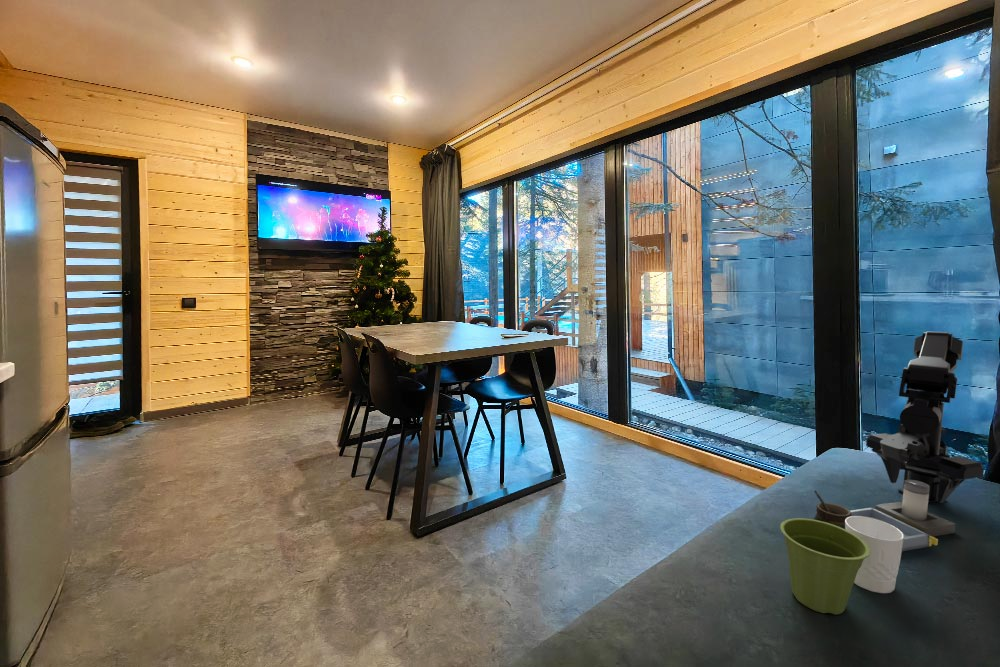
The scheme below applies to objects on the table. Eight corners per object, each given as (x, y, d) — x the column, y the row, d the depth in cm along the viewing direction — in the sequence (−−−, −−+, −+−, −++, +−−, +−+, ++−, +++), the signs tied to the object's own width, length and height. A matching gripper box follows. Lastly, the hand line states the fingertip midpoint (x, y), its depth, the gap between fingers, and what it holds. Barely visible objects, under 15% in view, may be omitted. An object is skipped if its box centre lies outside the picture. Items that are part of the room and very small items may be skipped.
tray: (837, 523, 97) (837, 512, 96) (870, 518, 99) (871, 507, 98) (891, 553, 86) (892, 541, 86) (928, 546, 88) (929, 535, 87)
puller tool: (881, 522, 97) (882, 517, 96) (889, 521, 97) (890, 516, 97) (929, 546, 88) (929, 540, 88) (937, 544, 88) (938, 539, 88)
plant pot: (870, 639, 65) (877, 568, 64) (776, 609, 72) (780, 543, 70) (858, 591, 75) (863, 529, 74) (776, 568, 82) (779, 511, 80)
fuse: (895, 519, 98) (899, 480, 97) (909, 517, 99) (913, 478, 98) (916, 528, 94) (920, 488, 93) (930, 526, 95) (934, 486, 94)
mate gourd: (842, 562, 83) (845, 511, 82) (800, 542, 90) (802, 495, 89) (862, 550, 87) (865, 502, 86) (819, 532, 93) (822, 487, 92)
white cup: (849, 589, 76) (854, 534, 75) (834, 562, 83) (838, 512, 82) (907, 601, 73) (913, 544, 72) (887, 572, 80) (891, 520, 79)
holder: (874, 513, 101) (875, 505, 100) (902, 509, 102) (903, 501, 102) (924, 537, 91) (925, 528, 91) (954, 532, 92) (955, 523, 92)
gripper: (849, 412, 101) (844, 477, 103) (946, 440, 83) (937, 518, 85) (887, 409, 104) (882, 472, 106) (990, 435, 86) (981, 511, 87)
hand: (916, 491), depth 96 cm, fingers open, 9 cm apart
